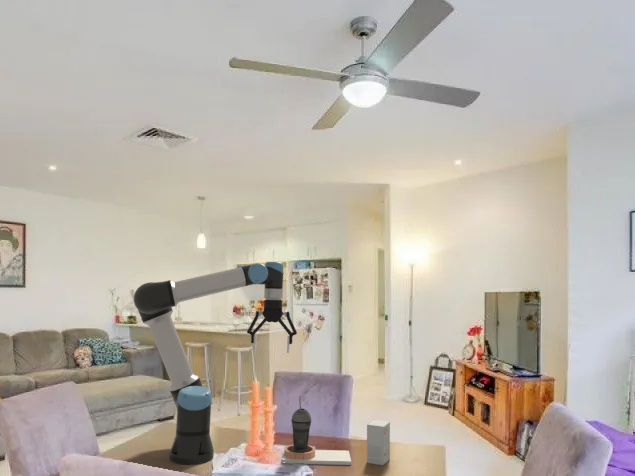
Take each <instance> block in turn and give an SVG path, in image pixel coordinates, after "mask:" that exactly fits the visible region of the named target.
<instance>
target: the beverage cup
mask: <svg viewBox="0 0 635 476" xmlns="http://www.w3.org/2000/svg"><path fill="white" fill-rule="evenodd" d="M298 398H299V399H298V401H299V403H298V404H299V408H298V409H296V410H295V411H294V412H293V414H292V417H291V421H290V422H291V426H292V440H293V442H292V443H293V444H292V445H293V448H294V452H295V453H305V452H307V447H308V444H309V437H310V430H311V426H312V425H311V424H312V416H311V414H310V412H309V410H307V409H305V408H302V401H301V400H302V399H301V398H302V397H301V395H299V396H298Z"/></svg>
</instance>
